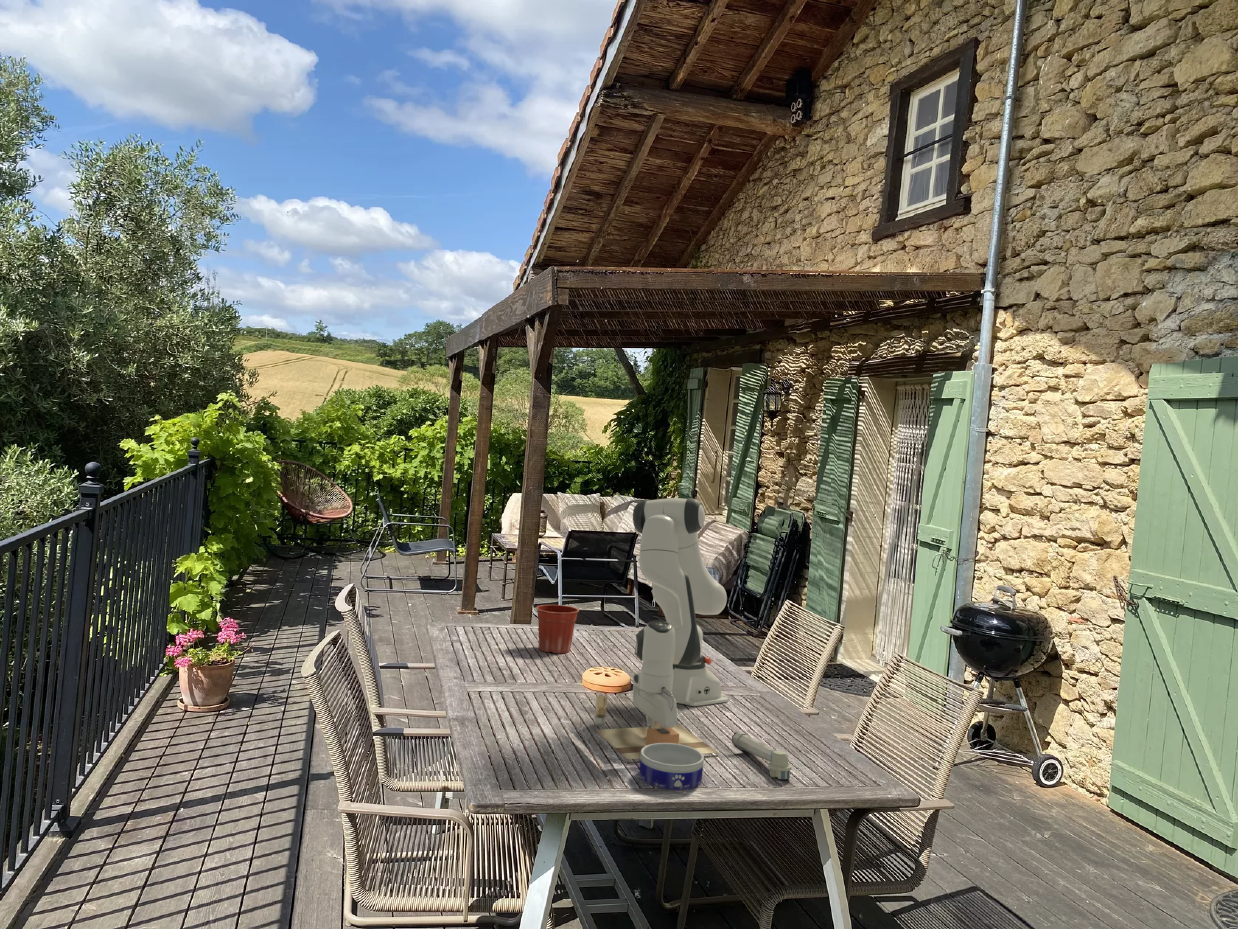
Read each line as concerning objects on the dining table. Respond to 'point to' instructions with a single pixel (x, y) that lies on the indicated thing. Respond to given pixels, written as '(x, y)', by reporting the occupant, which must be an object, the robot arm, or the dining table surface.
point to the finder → (662, 736)
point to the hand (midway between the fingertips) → (652, 733)
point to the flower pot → (556, 627)
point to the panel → (635, 740)
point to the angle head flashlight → (764, 754)
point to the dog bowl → (671, 766)
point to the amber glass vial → (600, 710)
